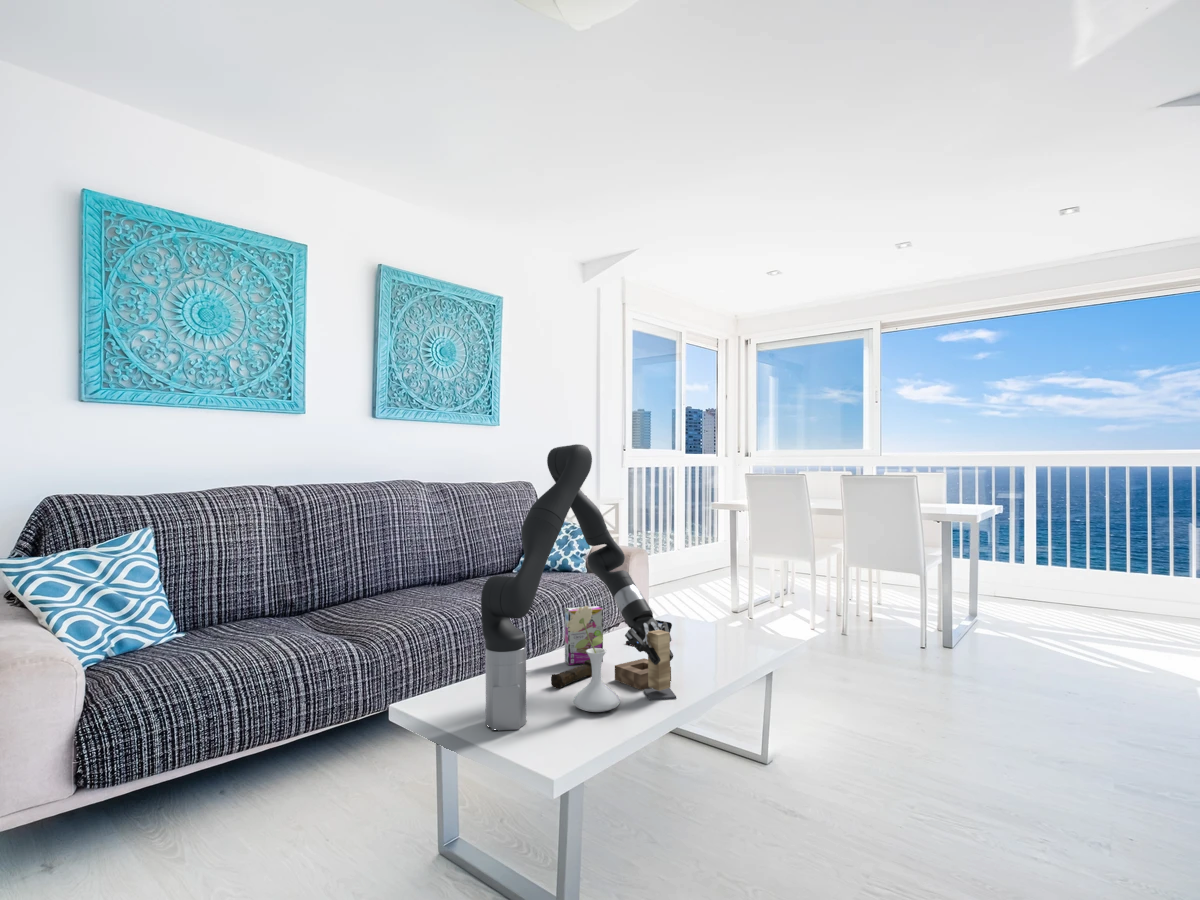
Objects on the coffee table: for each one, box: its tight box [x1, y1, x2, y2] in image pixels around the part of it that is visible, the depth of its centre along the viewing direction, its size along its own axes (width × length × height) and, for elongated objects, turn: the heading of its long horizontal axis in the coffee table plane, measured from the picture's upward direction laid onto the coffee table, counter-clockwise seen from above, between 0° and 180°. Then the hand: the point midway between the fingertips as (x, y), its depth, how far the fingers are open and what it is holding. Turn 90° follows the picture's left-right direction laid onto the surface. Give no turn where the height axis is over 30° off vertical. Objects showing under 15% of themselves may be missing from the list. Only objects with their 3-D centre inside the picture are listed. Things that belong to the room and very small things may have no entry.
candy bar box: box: [564, 605, 604, 666], centre depth 194 cm, size 11×5×16 cm, turn 108°
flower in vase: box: [567, 605, 621, 713], centre depth 154 cm, size 13×11×25 cm
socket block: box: [614, 658, 672, 691], centre depth 175 cm, size 11×11×4 cm
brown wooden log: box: [550, 659, 592, 690], centre depth 176 cm, size 19×4×5 cm, turn 138°
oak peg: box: [647, 630, 672, 691], centre depth 164 cm, size 4×4×14 cm
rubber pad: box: [643, 688, 677, 701], centre depth 163 cm, size 7×7×1 cm
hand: (664, 661), depth 162 cm, fingers closed on oak peg, 4 cm apart
